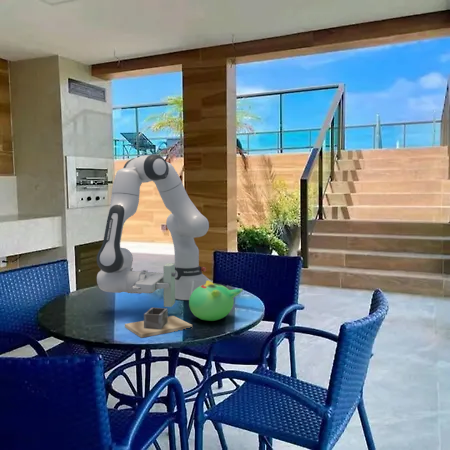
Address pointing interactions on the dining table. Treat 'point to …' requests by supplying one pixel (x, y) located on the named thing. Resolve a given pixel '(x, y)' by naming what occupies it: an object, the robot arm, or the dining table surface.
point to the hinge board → (152, 332)
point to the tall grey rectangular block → (170, 278)
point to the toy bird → (212, 301)
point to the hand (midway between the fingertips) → (171, 283)
